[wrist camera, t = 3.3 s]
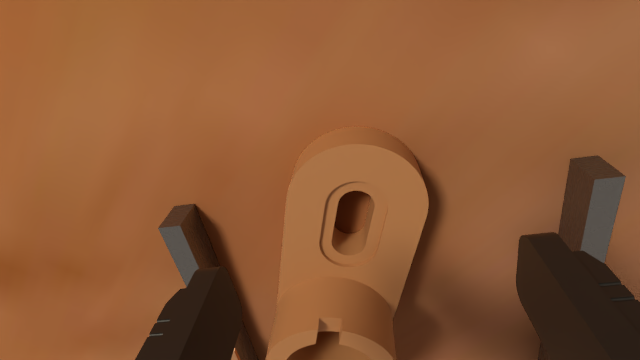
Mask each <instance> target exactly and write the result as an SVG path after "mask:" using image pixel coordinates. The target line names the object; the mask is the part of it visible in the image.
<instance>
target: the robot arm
mask: <svg viewBox="0 0 640 360" xmlns="http://www.w3.org/2000/svg"><path fill="white" fill-rule="evenodd" d="M516 286H517V292H518V295H519V299H520V301H521V303H522V306H523V307H524V309H525V311H526V313H527V315H528V317H529V319H530V321H531V322H532V324H533V326H534V328H535V330H536V332H537V334H538V336H539V337H540V339H541V341H542V343H543V345H544V347H545V349H546V351H547V353H548V354H549V356H550V358H551V360H640V302H639V301H638V300H635V299H634V296H633V295H632V293H631V292H630V291H629V290H628V289H627V288H626V287H625V286H624V285H621V281H620V280H619V279H618V278H617V277H616V276H615V274H614V273H613V272H612V271H611V270H610V269H609V268H608V267H607V266H606V264H604V263H603V262H601V261H599V260H598V259H596V258H594V257H593V256H591V255H590V254H588V253H586V252H585V251H583V250H582V251H571V250H570V249H569V247H568V246H567V245H566V244H565V242H564V241H563V240H562V239H561V237H560V236H559V235H558V234H556V233H554V232H550V233H541V234H532V235H523V236H521V237H520V240H519V248H518V261H517V273H516ZM241 324H242V307H241V303H240V301H239V298H238V296H237V293H236V291H235V288H234V286H233V283H232V281H231V278H230V276H229V273H228V271H227V269H226V268H225V267H223V266H221V267H212V268H202V269H197V270H196V271H195V272H194V274H193V276H192V278H191V280H190V282H189V284H188V286H187V288H185V289H180V290H179V291H178V292H177V293H176V294H175V295H174V296H173V297H172V298H171V299H170V300H169V301H168V302H167V303H166V304H165V306H164V308H163V310H162V312H161V314H160V315H159V317H158V319H157V323H155V325H154V326H153V328H152V330H151V332H150V336H149V337H147V339H146V341H145V343H144V345H143V346H142V348H141V350H140V352H139V354H138V355H137V357H136V359H135V360H231V358H232V354H233V351H234V348H235V345H236V341H237V338H238V335H239V331H240V328H241Z"/></svg>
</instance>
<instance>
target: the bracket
mask: <svg viewBox="0 0 640 360" xmlns="http://www.w3.org/2000/svg"><path fill="white" fill-rule="evenodd" d="M350 191H362V192H365V193H367V194H368V195H370V196H371V197H370V201H369V206H368V210H367V215H366V219H365V224H364V226H363V228H362V229H361V230H359V231H358V232H355V233H351V234H348V233H343V232H341V231H339V230H338V229H336V227H335V226H334V224H335V218H336V212H337V206H338V202H339V199H340V198H341V197H342V196H343V195H344V194H345V193H347V192H350ZM428 206H429V203H428V193H427V189H426V186H425V183H424V180H423V177H422V174H421V171H420V169H419V166H418V163H417V161H416V159H415V157H414V155H413V154H412V152H411V151H410V150H409V149H408V147H407V146H406V145H405V144H404V143H402V142H401V141H400V140H399V139H397V138H396V137H394V136H392V135H391V134H389V133H386V132H384V131H381V130H379V129H375V128H370V127H361V126H353V127H344V128H339V129H336V130H333V131H330V132H327V133H325V134H323V135H322V136H320V137H318V138H317V139H315V140H314V141H313V142H312V143H310V144H309V145H308V146H307V147H306V148H305V149H304V151H303V152H302V153H301V155H300V156H299V158H298V160H297V162H296V165H295V167H294V171H293V174H292V178H291V181H290V185H289V188H288V192H287V198H286V208H285V219H284V230H283V241H282V253H281V264H280V275H279V286H278V297H277V309H276V314H275V318H274V323H273V328H272V332H271V337H270V341H269V346H268V350H267V355H266V360H397V357H396V348H395V340H394V331H393V323H392V322H393V319H394V316H395V313H396V309H397V306H398V303H399V300H400V297H401V294H402V291H403V288H404V285H405V282H406V279H407V276H408V273H409V270H410V267H411V264H412V260H413V257H414V254H415V251H416V248H417V245H418V242H419V239H420V236H421V233H422V230H423V227H424V224H425V221H426V217H427V213H428Z"/></svg>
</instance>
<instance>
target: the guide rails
mask: <svg viewBox="0 0 640 360" xmlns="http://www.w3.org/2000/svg"><path fill="white" fill-rule="evenodd" d="M625 177H626V176H625V175H623V174H622V173H621V172H619V171H618V170H617V169H615V168H614V167H613V166H611V165H610V164H609V163H607V162H606V161H605V160H603V159H602V158H601V157H599V156H591V157H583V158H574V159H570V166H569V172H568V178H567V184H566V190H565V196H564V203H563V209H562V215H561V221H560V227H559V234H558V235H559V236H560V237H561V239H562V240H563V241H564V242H565V244H566V245H567V246H568V247H569V249H570V250H571V251H582V250H583V251H585V252H586V253H588V254H590V255H591V256H593V257H594V258H596V259H598V260H599V261H601V262H603V263H604V262H605V258H606V254H607V250H608V246H609V242H610V238H611V233H612V229H613V225H614V221H615V217H616V213H617V209H618V205H619V201H620V197H621V193H622V189H623V185H624V181H625ZM158 229H159V231H160V233H161V235H162V237H163V239H164V241H165V243H166V245H167V247H168V249H169V251H170V254H171V256H172V258H173V260H174V262H175V264H176V266H177V268H178V270H179V272H180V274H181V276H182V278H183V280H184V282H185V285H186V287H187V286H188V284H189V282H190V280H191V278H192V276H193V274H194V272H195V271H196V270H197V269H202V268H212V267H220V265H219V263H218V260H217V258H216V255H215V253H214V251H213V248H212V246H211V243H210V241H209V238H208V236H207V233H206V231H205V229H204V226H203V224H202V221H201V219H200V216H199V214H198V212H197V209H196V207H195V204H190V205H182V206H174V208H173V209H172V210H171V212H170V213H169V214H168V216H167V217H166V218H165V220H164V221H163V222H162V224H161V225H160V226H159V228H158ZM231 360H258V358H257V356H256V353H255V351H254V348H253V346H252V343H251V341H250V338H249V336H248V334H247V331H246V329H245V326H244V324H243V321H242V324H241V328H240V331H239V335H238V338H237V341H236V345H235V348H234V351H233V354H232V358H231ZM538 360H551V358H550V356H549V354H548V353H547V351H546V349H545V347H544V345H543V343H542V341H541V345H540V351H539V357H538Z"/></svg>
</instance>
